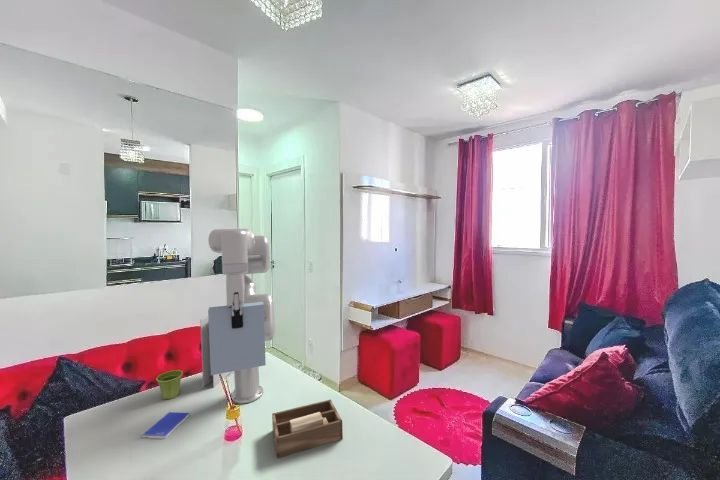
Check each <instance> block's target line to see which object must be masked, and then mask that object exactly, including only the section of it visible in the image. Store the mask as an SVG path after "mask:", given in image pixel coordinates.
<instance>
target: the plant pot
mask: <svg viewBox="0 0 720 480" xmlns="http://www.w3.org/2000/svg"><path fill="white" fill-rule="evenodd" d="M183 374H184V372H183V370H180V369H177V370H173V369H172V370H168V371H165V372H163V373H161V374H159V375H157V377H156V378H155V380H156V381H157V384H158V386H159V389H160V394H161V399H162V400H167V399H169V400H171V399H173V398H174V399H175V398H176V397H177V396H178V395H179V394H180V390H181V389H180V387H181V380H182V377H183Z"/></svg>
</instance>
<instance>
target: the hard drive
mask: <svg viewBox="0 0 720 480" xmlns="http://www.w3.org/2000/svg"><path fill="white" fill-rule="evenodd" d="M189 416H190V413H189V412H177V411H176V412H175V411H174V412H173V411H172V412H171V411H169V412H167V413H166V414H165V415H164V416H163V417H161V419H159V420H158V421H156V423H155V424H154V425H152V426H151V427H150V428H149V429H147V430H146V431H145V432H144V433H143V434H142V435H141V438H142V437H148V438H147V439H166V438H167V437H169V435H170V434H171V433H173V431H174V430H175V429H177V427H179V426H180V425H181V423H183V422H184V421H185V420H186V419H187V418H188V417H189ZM166 436H167V437H166ZM165 437H166V438H165Z"/></svg>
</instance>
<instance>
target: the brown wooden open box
mask: <svg viewBox="0 0 720 480" xmlns="http://www.w3.org/2000/svg"><path fill="white" fill-rule="evenodd" d="M318 412H320V413H321V415H322V417H323V418H325V417H326V419H327V421H328V423H327V424H323V425H320V426H316V427H312V428H309V429H305V430H301V431H297V432H294V433H290V420H293V419H296V418H300V417H303V416H307V415H310V414H314V413H318ZM271 417H272V421H271V422H272V435H273V440H274V447H275V448H274V449H275V453H276V458H277V459H280V458H283V457H286V456H290V455H293V454H297V453H300V452H302V451H306V450H307V451H308V450H310V449H313V448H317V447H320V446H323V445H324V446H325V445H326V444H330V443H333V442H334V443H335V442H337V441H340V440H343V434H344V433H343V420H342V418H341V417H340V414H339V412H338V411H337V408H336V407H335V405H334V402H333V401H332V399H327V400H323V401H319V402H315V403H311V404H310V403H309V404H306V405H302V406H297V407H294V408H290V409H286V410H282V411H277V412H273V413H272V414H271Z"/></svg>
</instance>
